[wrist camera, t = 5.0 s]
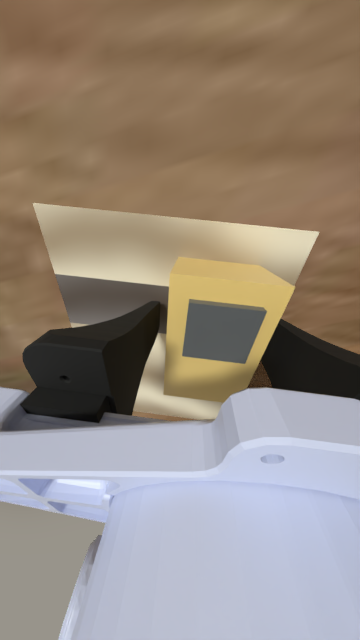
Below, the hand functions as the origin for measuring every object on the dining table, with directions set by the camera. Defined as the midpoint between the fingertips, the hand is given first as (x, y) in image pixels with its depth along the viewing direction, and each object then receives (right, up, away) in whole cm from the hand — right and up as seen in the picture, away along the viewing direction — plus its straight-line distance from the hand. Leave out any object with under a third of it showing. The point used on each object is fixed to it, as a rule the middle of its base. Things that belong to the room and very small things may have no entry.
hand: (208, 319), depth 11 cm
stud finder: (0, 0, 0) cm, 0 cm away
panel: (-3, -2, +4) cm, 5 cm away
